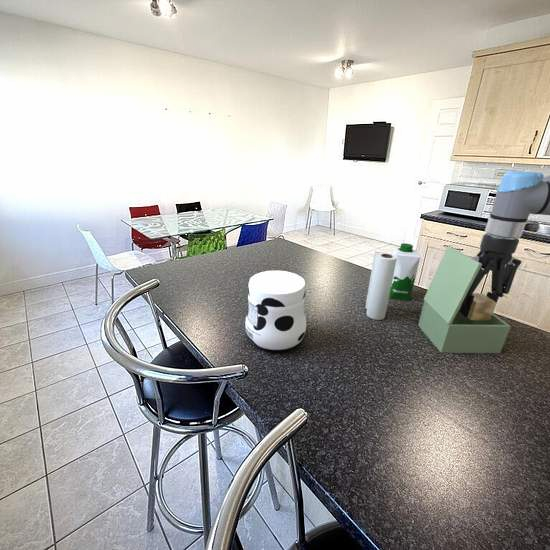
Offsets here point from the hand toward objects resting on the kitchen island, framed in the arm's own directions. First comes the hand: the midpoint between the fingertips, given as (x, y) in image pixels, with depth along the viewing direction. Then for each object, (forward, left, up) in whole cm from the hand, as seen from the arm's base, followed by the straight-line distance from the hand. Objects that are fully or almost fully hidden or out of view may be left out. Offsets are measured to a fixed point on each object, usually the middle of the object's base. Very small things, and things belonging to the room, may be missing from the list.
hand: (474, 314), depth 83 cm
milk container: (+54, +18, -9) cm, 57 cm away
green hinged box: (+3, +1, -8) cm, 9 cm away
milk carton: (+18, -21, -9) cm, 29 cm away
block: (0, 0, 0) cm, 0 cm away
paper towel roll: (+26, -5, -9) cm, 28 cm away
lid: (+9, +3, +9) cm, 13 cm away
